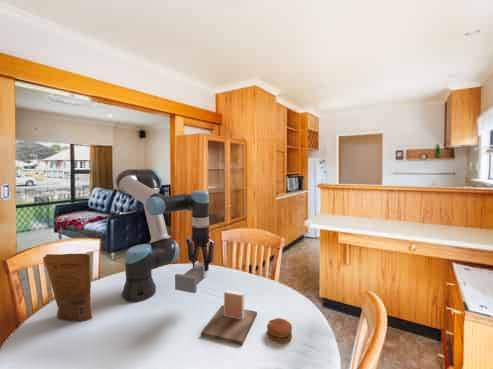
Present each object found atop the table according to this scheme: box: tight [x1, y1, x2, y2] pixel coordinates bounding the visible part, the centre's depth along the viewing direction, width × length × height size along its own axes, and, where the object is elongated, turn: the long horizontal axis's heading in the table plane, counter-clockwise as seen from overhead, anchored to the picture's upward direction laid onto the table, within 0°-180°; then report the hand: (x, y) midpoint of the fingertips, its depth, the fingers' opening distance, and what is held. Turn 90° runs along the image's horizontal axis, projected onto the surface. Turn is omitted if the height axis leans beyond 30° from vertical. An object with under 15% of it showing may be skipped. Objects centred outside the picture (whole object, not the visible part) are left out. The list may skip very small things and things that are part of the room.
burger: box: [266, 317, 293, 344], centre depth 93 cm, size 10×9×5 cm
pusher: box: [174, 261, 204, 294], centre depth 107 cm, size 9×16×6 cm, turn 162°
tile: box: [223, 289, 245, 319], centre depth 101 cm, size 8×2×10 cm, turn 72°
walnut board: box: [200, 304, 258, 346], centre depth 99 cm, size 16×19×2 cm
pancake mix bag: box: [42, 253, 93, 323], centre depth 102 cm, size 7×19×28 cm, turn 82°
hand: (200, 276), depth 112 cm, fingers closed on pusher, 3 cm apart
